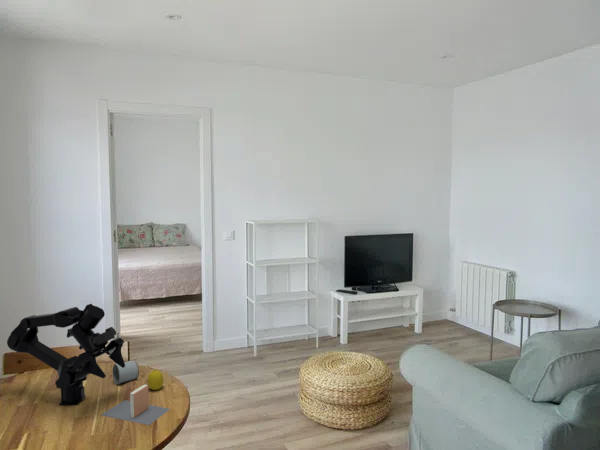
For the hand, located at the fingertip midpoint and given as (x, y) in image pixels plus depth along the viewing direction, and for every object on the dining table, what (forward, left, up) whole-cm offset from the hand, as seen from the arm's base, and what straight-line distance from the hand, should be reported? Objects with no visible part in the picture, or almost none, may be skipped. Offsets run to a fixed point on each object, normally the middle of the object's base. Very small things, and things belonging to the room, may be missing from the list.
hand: (114, 372), depth 149 cm
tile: (+9, -4, -12) cm, 16 cm away
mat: (+8, -4, -13) cm, 16 cm away
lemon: (+9, +14, -13) cm, 21 cm away
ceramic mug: (-6, +24, -13) cm, 28 cm away
